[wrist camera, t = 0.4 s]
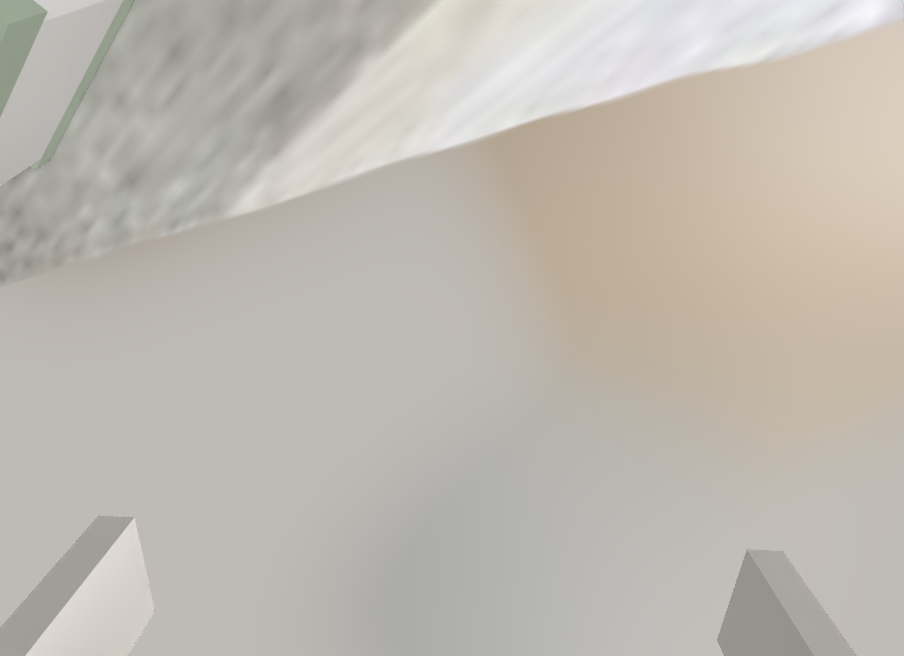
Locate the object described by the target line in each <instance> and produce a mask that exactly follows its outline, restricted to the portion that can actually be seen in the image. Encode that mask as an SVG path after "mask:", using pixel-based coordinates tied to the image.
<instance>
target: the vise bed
mask: <svg viewBox="0 0 904 656" xmlns="http://www.w3.org/2000/svg"><path fill="white" fill-rule="evenodd" d="M133 2H134V0H0V186H1V185H3V184H4V183H6V182H7V181H9V180H10V179H12V178H13V177H15V176H16V175H18V174H19V173H21V172H22V171H24V170H25V169H27V168H28V167H30V168H31V169H33V170H36V169H38V168H39V167H41V166H42V165H44V164H45V163H46V162H48V161H49V160H50V158H51V156H52V154H53V152H54V151H55V149H56V147H57V145H58V143H59V141H60V139H61V137H62V136H63V134H64V132H65V130H66V128H67V126H68V124H69V122H70V120H71V119H72V117H73V115H74V113H75V111H76V109H77V107H78V105H79V104H80V102H81V100H82V98H83V96H84V94H85V92H86V90H87V88H88V87H89V85H90V83H91V81H92V79H93V77H94V75H95V73H96V72H97V70H98V68H99V66H100V64H101V62H102V60H103V58H104V56H105V55H106V53H107V51H108V49H109V47H110V45H111V43H112V41H113V39H114V38H115V36H116V34H117V32H118V30H119V28H120V26H121V24H122V23H123V21H124V19H125V17H126V15H127V13H128V11H129V9H130V7H131V6H132V4H133Z"/></svg>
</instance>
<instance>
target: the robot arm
mask: <svg viewBox="0 0 904 656" xmlns="http://www.w3.org/2000/svg"><path fill="white" fill-rule="evenodd" d="M154 612H155V609H154V604H153V600H152V595H151V591H150V586H149V581H148V577H147V573H146V568H145V564H144V559H143V554H142V550H141V545H140V541H139V536H138V532H137V527H136V523H135V518H132V517H113V516H98V517H97V519H95V520H94V522H93V523H92V524H91V525H90V526H89V527H88V528H87V530H86V531H85V532H84V533H83V534H82V535H81V536H80V538H79V539H78V540H77V541H76V542H75V543H74V544H73V546H72V547H71V548H70V549H69V550H68V551H67V552H66V554H65V555H64V556H63V557H62V558H61V559H60V560H59V561H58V563H57V564H56V565H55V566H54V567H53V568H52V570H51V571H50V572H49V573H48V574H47V575H46V576H45V578H44V579H43V580H42V581H41V582H40V583H39V584H38V585H37V587H36V588H35V589H34V590H33V591H32V592H31V593H30V594H29V596H28V597H27V598H26V599H25V600H24V601H23V603H22V604H21V605H20V606H19V607H18V608H17V609H16V610H15V612H14V613H13V614H12V615H11V616H10V617H9V618H8V620H7V621H6V622H5V623H4V624H3V625H2V626H1V628H0V656H128V655H129V653H130V651H131V650H132V648H133V647H134V645H135V643H136V641H137V640H138V638H139V637H140V635H141V633H142V632H143V630H144V628H145V627H146V625H147V623H148V622H149V620H150V618H151V617H152V615H153V613H154ZM717 641H718V643H719V645H720V647H721V650H722V652H723V654H724V656H856V654H855V653H854V651H853V650H852V649H851V647H850V646H849V644H848V643H847V641H846V640H845V639H844V637H843V636H842V634H841V633H840V632H839V630H838V629H837V627H836V626H835V624H834V623H833V622H832V620H831V619H830V617H829V616H828V615H827V613H826V612H825V610H824V609H823V607H822V606H821V605H820V603H819V602H818V600H817V599H816V598H815V596H814V595H813V594H812V592H811V590H810V589H809V588H808V586H807V585H806V583H805V582H804V581H803V579H802V578H801V576H800V575H799V574H798V572H797V571H796V569H795V568H794V566H793V565H792V564H791V562H790V561H789V559H788V558H787V556H786V555H785V554H784V552H783V551H768V550H749V549H747V551H746V554H745V557H744V560H743V563H742V566H741V569H740V572H739V575H738V578H737V581H736V584H735V588H734V590H733V593H732V597H731V600H730V602H729V605H728V609H727V612H726V615H725V618H724V621H723V624H722V627H721V630H720V633H719V636H718V639H717Z"/></svg>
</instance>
